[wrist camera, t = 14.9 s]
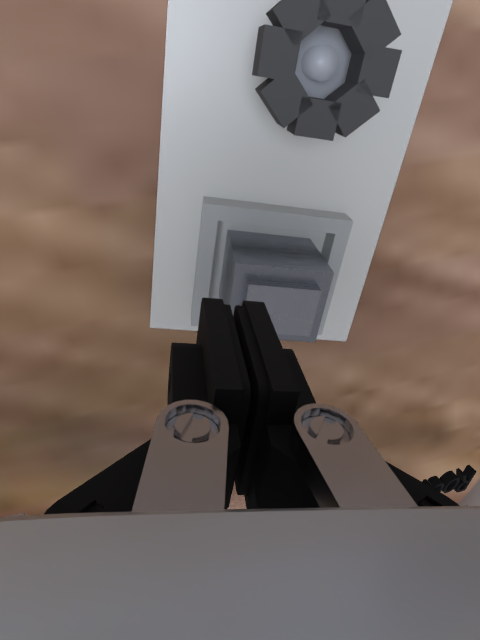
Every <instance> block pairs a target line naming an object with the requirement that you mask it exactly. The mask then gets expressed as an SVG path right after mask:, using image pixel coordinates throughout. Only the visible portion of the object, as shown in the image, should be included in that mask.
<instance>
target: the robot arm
mask: <svg viewBox="0 0 480 640" xmlns="http://www.w3.org/2000/svg"><path fill="white" fill-rule="evenodd" d="M234 480H235V485H236V491H237V494H238V495H244V496H245V501H246V507H247V509H227V508H228V507H229V503H230V498H231V494H232V491H233V485H234ZM226 509H227V510H226ZM0 640H480V506H459V505H458V504H457V503H456V502H454V501H453V500H451V499H450V498H448V497H447V496H445V495H443V494H442V493H440V492H438V491H436V490H435V489H433V488H431V487H429V486H428V485H426V484H424V483H422V482H421V481H419V480H417V479H415V478H414V477H412V476H410V475H408V474H407V473H405V472H403V471H401V470H400V469H398V468H396V467H394V466H393V465H391V464H389V463H388V462H386V461H385V460H384V459H383V458H382V456H381V455H380V453H379V452H378V451H377V449H376V448H375V447H374V445H373V444H372V443H371V441H370V440H369V438H368V437H367V436H366V434H365V433H364V432H363V430H362V429H361V427H360V426H359V425H358V423H357V422H356V421H355V420H354V419H353V418H352V417H351V416H350V415H349V414H347V413H346V412H344V411H343V410H341V409H338V408H336V407H334V406H330V405H326V404H317V403H316V402H315V400H314V397H313V395H312V393H311V391H310V388H309V386H308V384H307V381H306V379H305V377H304V374H303V372H302V370H301V368H300V365H299V363H298V361H297V358H296V356H295V354H294V352H293V350H291V349H283V348H282V346H281V343H280V341H279V338H278V336H277V333H276V331H275V328H274V326H273V323H272V321H271V318H270V316H269V313H268V311H267V308H266V306H265V303H264V302H258V301H243V303H242V306H241V305H236V306H235V308H234V314H232V310H231V306H230V305H227V304H224V302H223V299H217V298H202V301H201V308H200V316H199V325H198V333H197V342H196V344H187V343H172V345H171V355H170V367H169V380H168V405H167V406H166V407H165V408H164V409H162V410H161V411H160V413H159V415H158V417H157V420H156V423H155V427H154V431H153V434H152V438H151V439H150V440H149V441H147V442H146V443H144V444H143V445H141V446H140V447H138V448H137V449H135V450H134V451H132V452H130V453H129V454H127V455H126V456H124V457H123V458H121V459H120V460H118V461H117V462H115V463H114V464H112V465H111V466H109V467H108V468H106V469H105V470H103V471H102V472H100V473H99V474H97V475H96V476H94V477H93V478H91V479H90V480H88V481H87V482H85V483H84V484H82V485H81V486H79V487H78V488H76V489H75V490H73V491H72V492H70V493H69V494H67V495H66V496H64V497H63V498H61V499H60V500H58V501H57V502H56V503H54V504H53V505H52V506H51V507H50V508H49V509H47V511H46V512H45V513H44V515H26V516H25V513H20V514H15V515H10V516H5V517H0Z"/></svg>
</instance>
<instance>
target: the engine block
mask: <svg viewBox="0 0 480 640" xmlns="http://www.w3.org/2000/svg"><path fill="white" fill-rule="evenodd" d="M333 275H334V272H333V270H332V269H331V267H330V266H329V265H328V263H327V262H326V260H325V259H324V258H323V256H322V255H321V253H320V252H319V250H318V249H317V248H316V246H315V245H314V243H313V242H312V241H311V239H310V238H301V237H292V236H282V235H273V234H264V233H254V232H245V231H236V230H227V236H226V244H225V251H224V258H223V266H222V273H221V280H220V288H219V299H223V302H224V304H227V305H230V306H231V310H232V314H234V308H235V306H236V305H241V306H242V303H243V301H258V302H264V303H265V306H266V308H267V311H268V313H269V316H270V318H271V321H272V323H273V326H274V328H275V331H276V333H277V336H278V338H279V340H289V341H303V342H316V338H317V334H318V331H319V327H320V323H321V320H322V316H323V312H324V308H325V305H326V301H327V297H328V294H329V290H330V286H331V283H332V279H333Z"/></svg>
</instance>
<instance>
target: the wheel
mask: <svg viewBox="0 0 480 640" xmlns="http://www.w3.org/2000/svg"><path fill="white" fill-rule="evenodd" d="M266 15H267V16H268V18H269V20H270V22H271V23H272V25H273V26H271V25H266V24H264V25H262V26H260V27H259V28H258V35H257V42H256V49H255V56H254V63H253V71H252V75H254V76H259V77H265V78H267V79H266V80H265V81H264V82H262V83H261V84H260V85H259V86H258V87H256V88H255V90H256V92H257V93H258V95H259V96H260V98H261V100H262V101H263V103H264V104H265V106H266V107H267V109H268V111H269V112H270V114H271V115H272V117H273V118H274V120H275V122H276V123H277V124H278V125H280V126H281V127H283V128H285V127H286V126H287V125H288V126H287V131H289V132H290V133H292V134H293V135H296V136H302V137H309V138H316V139H323V140H329V141H333V139H334V135H335V133H337V134H339V135H341V136H343V137H345V138H346V137H347V136H348V135H349V134H351V133H352V132H353V131H355V130H356V129H357V128H359V127H360V126H361V125H363V124H364V123H365V122H366V121H368V120H369V119H370V118H372V117H373V116H374V115H376V114H377V113H378V112H380V109H379V107H378V105H377V103H376V101H375V99H374V97H373V96H377V97H383V98H389V96H390V92H391V89H392V85H393V81H394V78H395V74H396V71H397V67H398V64H399V60H400V56H401V53H402V50H398V49H393V48H387V47H386V46H388V45H389V44H390V43H391V42H393V41H394V40H395V39H396V38H398V37H399V36H400V35H401V32H400V30H399V28H398V25H397V23H396V21H395V19H394V16H393V14H392V12H391V10H390V7H389V5H388V3H387V1H386V0H280V1H279V2H278V3H277V4H276V5H275V6H274V7H272V8H271V9H270V10H269V11H268V12H267V13H266ZM320 25H321V26H326V27H331V28H336V29H339V30H340V32H341V34H342V36H343V38H344V40H345V42H346V44H347V46H348V48H349V50H350V52H351V58H350V62H349V67H348V71H347V75H346V80H345V83H343V84H342V85H341V86H340V87H338V88H337V89H336V90H335V91H333V92H332V93H331V94H330V95H328V96H327V97H326V98H325V99H321V98H315V97H309V96H308V95H307V93H306V91H305V89H304V88H303V86H302V84H301V83H300V81H299V79H298V77H297V76H296V74H295V71H296V65H297V60H298V55H299V49H300V44H301V41H302V40H303V39H304V38H305V37H306V36H308V35H309V34H310V33H311V32H312V31H314V30H315V29H316V28H317V27H318V26H320Z"/></svg>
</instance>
